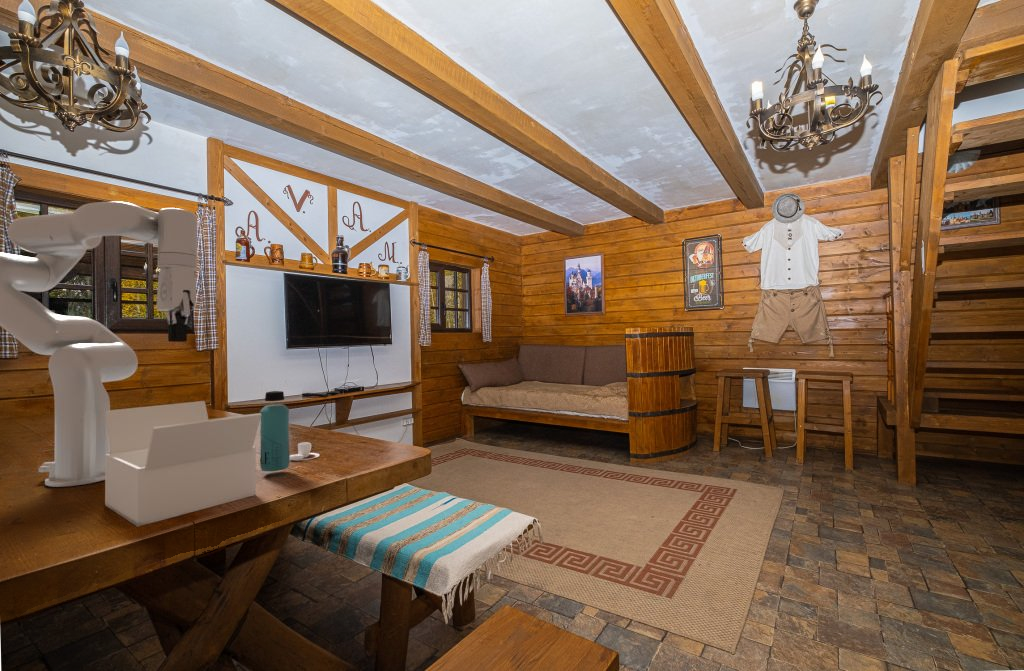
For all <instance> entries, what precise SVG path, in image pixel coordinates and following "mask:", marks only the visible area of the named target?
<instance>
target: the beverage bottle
mask: <svg viewBox="0 0 1024 671" xmlns="http://www.w3.org/2000/svg"><path fill="white" fill-rule="evenodd" d="M264 401H265V402H279V401H285V394H284V391H279V390H272V391H271V390H270V391H266V392H265V397H264ZM259 413H260V414H261V418H260V423H259V426H260V428H259V435H260V442H259V443H260V447H259V449H260V450H259V453H260V458H259V462H260V464H259V467H260V470H261V471H262V472H277V471H282V470H283V471H284V470H286V469H288V468H289V466H290V459H289V458H290V457H289V456H290V455H291V454H290V452H291V451H290V447H291V446H290V426H289V424H290V423H289V422H290V419H289V418H290V414H289V413H290V408H288V407H287V405H285V404H279V403H278V404H269V405H265V406H263V407H262V408H261V410H259Z"/></svg>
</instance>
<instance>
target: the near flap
mask: <svg viewBox="0 0 1024 671" xmlns="http://www.w3.org/2000/svg"><path fill="white" fill-rule="evenodd" d="M260 423H261V413H260V412H259V413H258V412H257V413H249V414H244V415H243V414H242V415H234V416H227V417H219V418H211V419H210V418H209V419H208V420H203V421H195V422H187V423H180V424H172V425H164V426H157V427H153V430H152V435H151V440H150V445H149V450H148V455H147V460H146V465H145V469H146V470H148V469H153V468H158V467H164V466H169V465H174V464H179V463H184V462H190V461H195V460H200V459H205V458H211V457H216V456H221V455H226V454H232V453H237V452H242V451H247V450H252V448H253V446H254V443H255V440H256V436H257V433H258V428H259V426H260Z"/></svg>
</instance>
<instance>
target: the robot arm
mask: <svg viewBox="0 0 1024 671" xmlns="http://www.w3.org/2000/svg"><path fill="white" fill-rule="evenodd" d="M6 232H7V236H8V238H9V241H11V243H12V244H14V246H16V247H18V248H19V249H20V250H21V249H22V250H24V251H26V252H29V253H33V254H36V255H35V257H31V256H25V255H18V254H14V253H13V254H12V253H6V252H0V327H1V328H3V330H5V331H7V332H8V333H9V334H10V335H11V336H12V337H14V338H15V339H16V340H17V341H18V342H20V343H21V344H22V345H23V346H25V347H26V348H28V349H29V350H30V351H32V353H35V354H38V355H42V356H43V355H44V356H50V357H49V361H48V373H49V377H50V380H51V384H52V389H53V390H52V391H53V396H54V397H53V399H54V461H45V462H43V463H42V464H41V466H38V469H37V471H38V473H47V472H48V473H49V475H48V477H47V478H45V480H44V485H45V486H46V487H47V486H48V487H52V488H55V487H56V488H59V487H60V488H62V487H63V488H64V487H74V486H75V487H76V486H81V485H82V486H83V485H87V484H88V485H89V484H93V483H97V482H98V483H99V482H101V481H105V454H111V451H110V444H109V437H108V429H107V422H106V415H105V411H108V410H111V401H110V396H109V394H108V392H107V390H106V388H105V386H104V385H103V383H108V382H109V383H111V382H117V381H122V380H125V379H127V378H129V377H131V376H132V375H134V374H135V373H136V371H137V369H138V365H139V360H138V356H137V355H136V352H135V350H133V348H132V347H131V346H130V345H129V344H127V343H126V342H125V341H123V339H121V337H120V336H117V335H116V334H115V333H114V332H112V331H111V330H110V329H109V328H108V327H107V326H105V325H104V324H102V323H100V322H99V321H97V320H95V319H92V318H90V317H86V316H79V315H78V316H77V315H76V316H75V315H63V314H58V313H55V312H53V311H51V310H50V309H49V308H47V307H46V306H44V305H43V303H41V302H40V301H39V300H37V299H36V298H35V297H32V296H31V295H29V294H27V293H24V292H30V293H42V292H46V291H49V290H52V289H53V288H54V287H56V286H57V285H58V284H59V283H60V282H61V281H62V280H63V279H64V278H65V277H66V276H67V274H68V273H69V272H70V271H71V270H72V269H73V268H74V267H75V266H76V265H77V263H79V261H80V260H82V258H83V257H84V256H85V254H86V253H87V250H92V249H95V248H97V247H98V246H100V245H101V242H102V238H103V237H112V236H117V237H118V236H120V237H124V238H129V239H133V240H136V241H139V242H143V243H147V244H151V245H157V269H159V273H158V278H157V291H156V293H157V294H156V310H158V311H159V312H165V317H167V326H168V328H167V334H168V335H167V336H168V337H167V339H168V340H167V341H168V342H173V343H175V342H176V343H178V342H185V343H186V342H187V341H188V318H189V316H191V311H194V310H195V309H196V304H197V289H196V288H197V286H196V285H197V284H196V273H195V272H197V271H198V217H197V216H196V214H195V213H194V212H192V211H189V210H186V209H183V208H177V207H176V208H175V207H165V208H161V209H160V210H159V211H158V212H156V211H153V210H150V209H148V208H144V207H141V206H139V205H136V204H133V203H130V202H126V201H125V202H124V201H113V200H112V201H100V202H99V201H98V202H90V203H85V204H82V205H80V206H79V207H78V208H77V209H75V210H74V211H73V212H65V213H54V214H51V213H50V214H43V215H41V214H40V215H32V216H31V215H30V216H23V217H20V218H17V219H15V220H13V221H12V222H11V223H10V224H9V225H8V228H7V231H6Z"/></svg>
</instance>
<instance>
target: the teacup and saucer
mask: <svg viewBox="0 0 1024 671" xmlns="http://www.w3.org/2000/svg"><path fill="white" fill-rule="evenodd" d="M312 445H313V444H312V443H311V442H308V441H307V442H306V441H305V442H304V441H303V442H299V443H297V452H298V453H296V454H289V455H290V456H289V457H290V458H289V461H307V460H308V461H309V460H313V459H316V458H318V457H320V455H321V454H320V453H316V452H311V451H312V450H311V449H312ZM309 455H313V456H314V457H310V458H308V457H309Z"/></svg>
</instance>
